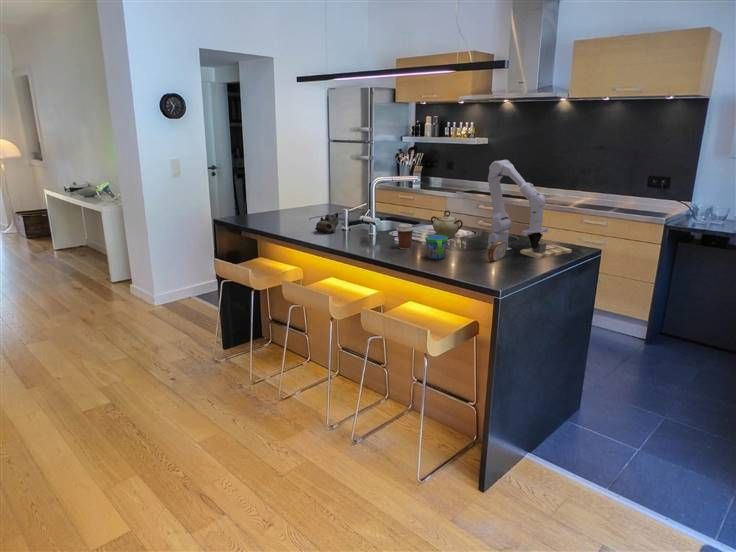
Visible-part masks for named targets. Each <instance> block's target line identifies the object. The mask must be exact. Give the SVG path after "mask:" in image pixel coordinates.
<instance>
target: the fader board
mask: <svg viewBox="0 0 736 552" xmlns="http://www.w3.org/2000/svg"><path fill="white" fill-rule="evenodd" d="M572 250H573V249H571V248H567V247H564V246H560V245H557V244H549V245H546V251H545V252H536V251H533V250H532V248H530V247H529V248H523V249H521V250H520V251H519V253H520V254H522V255H524V256H527V257H532V258H534V259H538V260H539V259H544V258H550V257H556V256H560V255H561V256H562V255H565V254H571V253H572V252H573V251H572Z"/></svg>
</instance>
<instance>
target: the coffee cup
mask: <svg viewBox="0 0 736 552" xmlns="http://www.w3.org/2000/svg"><path fill="white" fill-rule="evenodd" d="M395 231H397V239H398V240H397V241H398V249H399V248H400V249H399V250H404V249H406V250H410V248H411V249H412V242H413V231H415V228H414V227H413V225H412V224H410V223H401V224H398V226H397V227H396V230H395Z"/></svg>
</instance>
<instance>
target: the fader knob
mask: <svg viewBox="0 0 736 552" xmlns="http://www.w3.org/2000/svg"><path fill="white" fill-rule="evenodd" d="M546 246H547V243H546V242H543V241H540V240H539V243H538V245H537V248H536V249H533V248H532V250H533V251H536V252H545V251H546Z"/></svg>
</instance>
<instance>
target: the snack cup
mask: <svg viewBox="0 0 736 552" xmlns="http://www.w3.org/2000/svg"><path fill="white" fill-rule="evenodd" d="M448 241H449V238H448V237H447V236H443V235H437V234H429V235H426V237H425V242H426V249H427V255H428V258H429V259H431V260H442V259H444V258H445V254H446V249H447V242H448Z"/></svg>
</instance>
